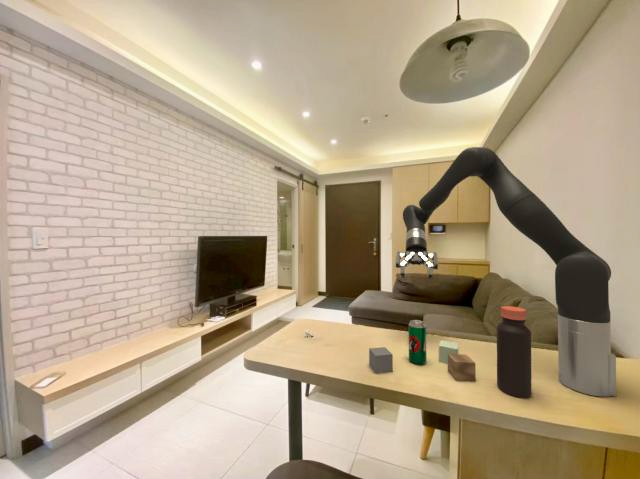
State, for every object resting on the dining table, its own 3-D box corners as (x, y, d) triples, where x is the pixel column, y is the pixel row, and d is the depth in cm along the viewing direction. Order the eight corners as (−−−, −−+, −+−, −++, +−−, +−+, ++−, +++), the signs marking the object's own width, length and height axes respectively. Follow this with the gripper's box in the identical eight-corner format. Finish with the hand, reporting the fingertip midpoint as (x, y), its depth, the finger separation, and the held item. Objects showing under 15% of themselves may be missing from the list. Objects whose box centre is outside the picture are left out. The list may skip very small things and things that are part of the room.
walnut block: (466, 372, 72) (466, 354, 72) (475, 382, 67) (475, 362, 67) (447, 371, 72) (447, 353, 73) (455, 381, 68) (455, 362, 68)
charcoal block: (385, 363, 77) (385, 347, 77) (392, 372, 72) (392, 354, 72) (369, 365, 76) (369, 348, 76) (375, 373, 71) (375, 355, 71)
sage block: (458, 359, 80) (458, 343, 80) (457, 366, 75) (457, 349, 76) (440, 355, 82) (440, 340, 82) (439, 362, 78) (438, 345, 78)
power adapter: (309, 336, 101) (309, 328, 101) (313, 337, 99) (313, 329, 99) (303, 338, 99) (303, 330, 99) (308, 340, 97) (308, 331, 97)
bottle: (538, 394, 61) (537, 310, 62) (520, 401, 59) (520, 313, 59) (507, 380, 68) (507, 304, 68) (490, 386, 65) (490, 306, 65)
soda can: (428, 366, 75) (427, 325, 75) (409, 364, 76) (409, 324, 76) (424, 358, 80) (424, 320, 80) (407, 357, 81) (407, 319, 81)
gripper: (396, 235, 100) (394, 268, 89) (436, 235, 95) (440, 270, 84) (397, 249, 105) (395, 281, 94) (435, 249, 100) (438, 284, 89)
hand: (416, 276), depth 89 cm, fingers open, 8 cm apart
